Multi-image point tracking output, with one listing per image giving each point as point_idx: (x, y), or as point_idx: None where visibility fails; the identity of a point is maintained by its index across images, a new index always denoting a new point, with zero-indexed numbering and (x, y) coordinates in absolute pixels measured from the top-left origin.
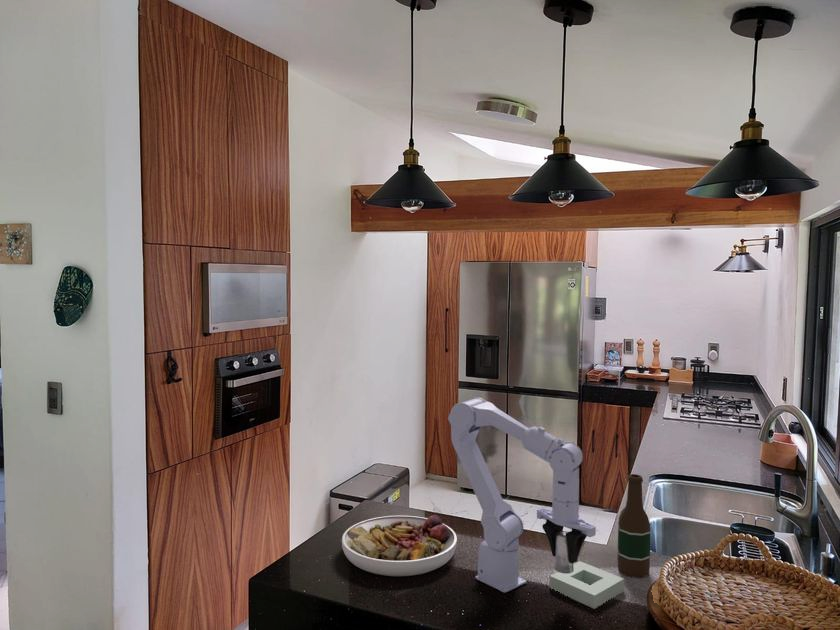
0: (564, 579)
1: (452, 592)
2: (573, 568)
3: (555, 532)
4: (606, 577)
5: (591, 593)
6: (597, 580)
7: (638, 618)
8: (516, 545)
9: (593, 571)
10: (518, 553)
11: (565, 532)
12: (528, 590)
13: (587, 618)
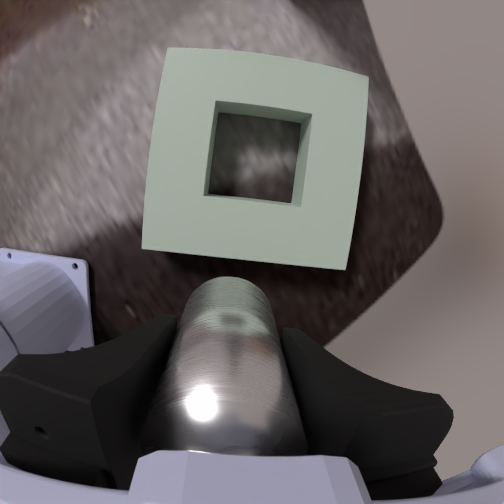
0: (199, 235)
1: None
2: (271, 309)
3: (137, 452)
4: (319, 103)
5: (331, 264)
6: (281, 113)
7: (433, 219)
8: (6, 353)
9: (254, 87)
10: (27, 332)
11: (202, 431)
12: (119, 295)
13: (334, 317)
